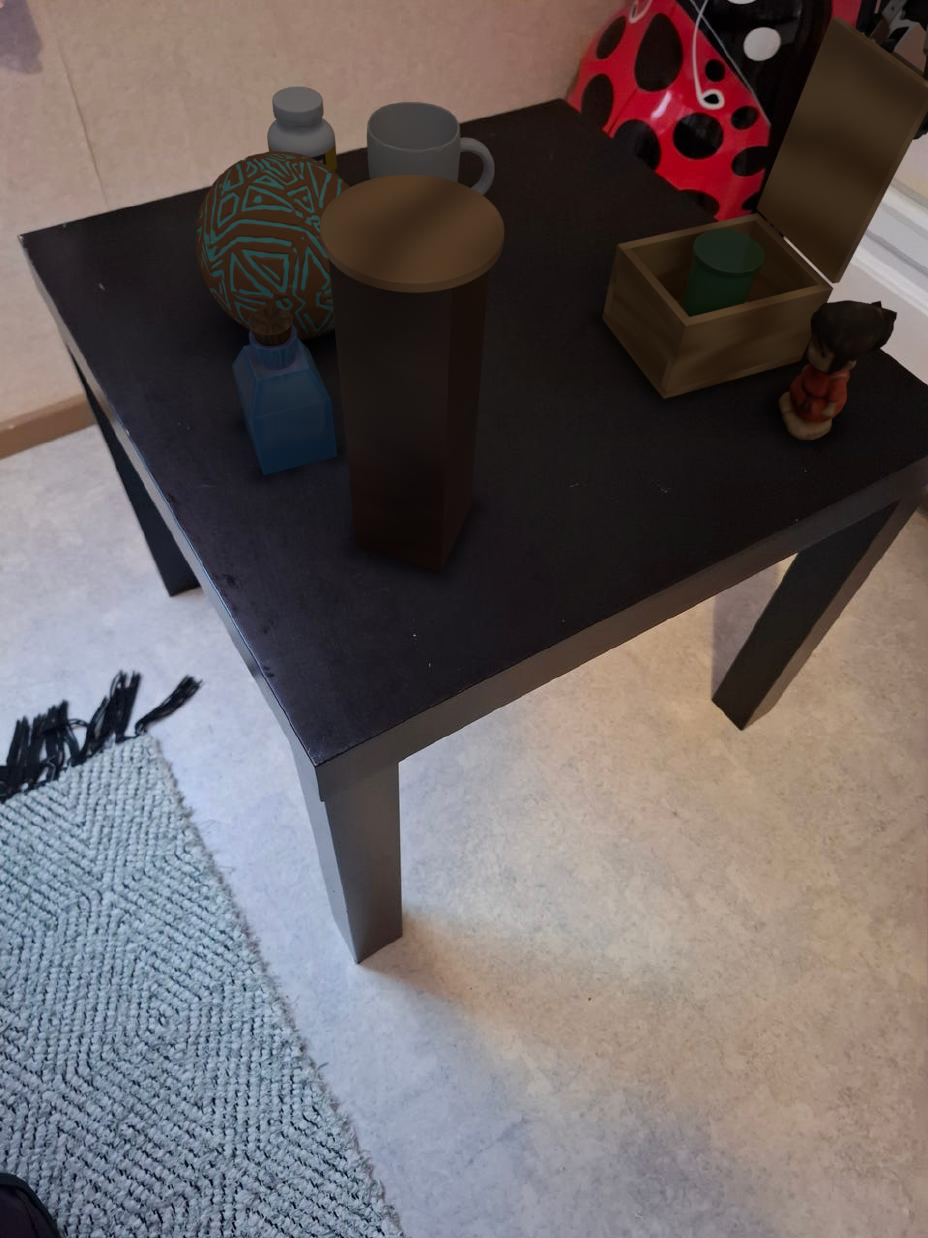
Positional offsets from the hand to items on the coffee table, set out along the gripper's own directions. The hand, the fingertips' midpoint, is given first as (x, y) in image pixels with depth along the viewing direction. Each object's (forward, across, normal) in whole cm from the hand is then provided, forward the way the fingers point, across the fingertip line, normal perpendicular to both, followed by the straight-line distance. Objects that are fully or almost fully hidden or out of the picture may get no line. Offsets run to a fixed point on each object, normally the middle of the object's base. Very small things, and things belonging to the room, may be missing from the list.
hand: (885, 119), depth 70 cm
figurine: (+19, -12, +8) cm, 24 cm away
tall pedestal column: (+19, -11, +45) cm, 50 cm away
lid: (+2, 0, +4) cm, 5 cm away
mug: (+19, +26, +28) cm, 43 cm away
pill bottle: (+20, +31, +40) cm, 54 cm away
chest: (+19, 0, +11) cm, 22 cm away
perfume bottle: (+20, +1, +51) cm, 55 cm away
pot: (+18, 0, +11) cm, 21 cm away
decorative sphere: (+20, +15, +46) cm, 52 cm away
